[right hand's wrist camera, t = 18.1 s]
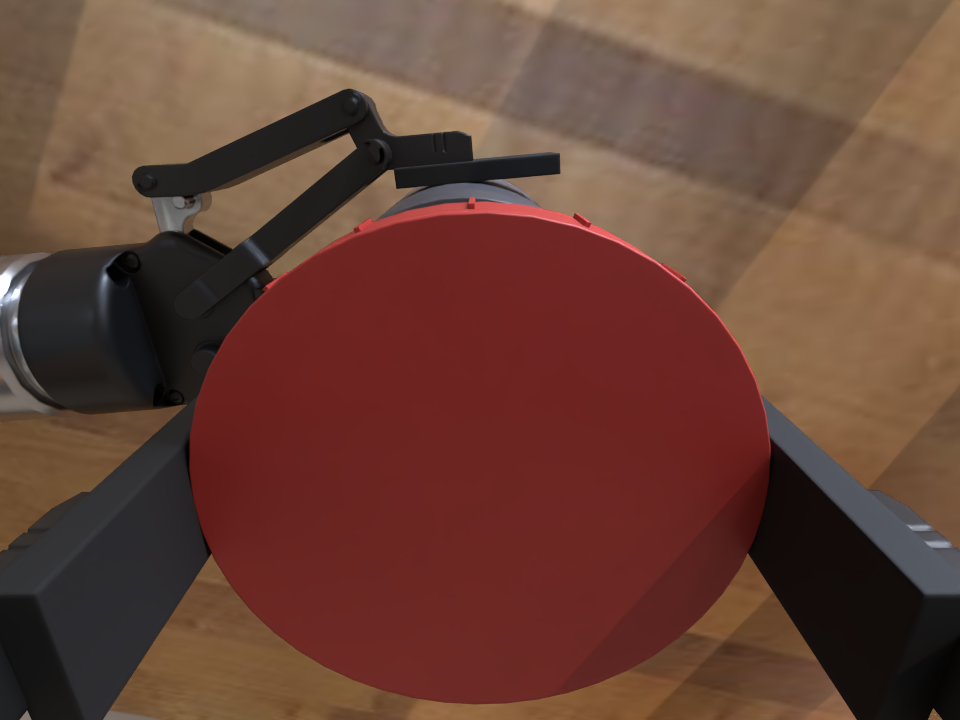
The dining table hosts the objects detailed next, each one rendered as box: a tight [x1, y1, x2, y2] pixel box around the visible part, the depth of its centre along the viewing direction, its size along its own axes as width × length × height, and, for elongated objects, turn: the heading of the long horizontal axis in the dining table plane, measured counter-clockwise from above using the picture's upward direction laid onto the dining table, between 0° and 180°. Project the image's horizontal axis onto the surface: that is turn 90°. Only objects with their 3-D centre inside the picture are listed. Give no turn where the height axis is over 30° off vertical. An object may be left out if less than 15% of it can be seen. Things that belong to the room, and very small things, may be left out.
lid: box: [189, 197, 770, 704], centre depth 12 cm, size 11×12×2 cm
